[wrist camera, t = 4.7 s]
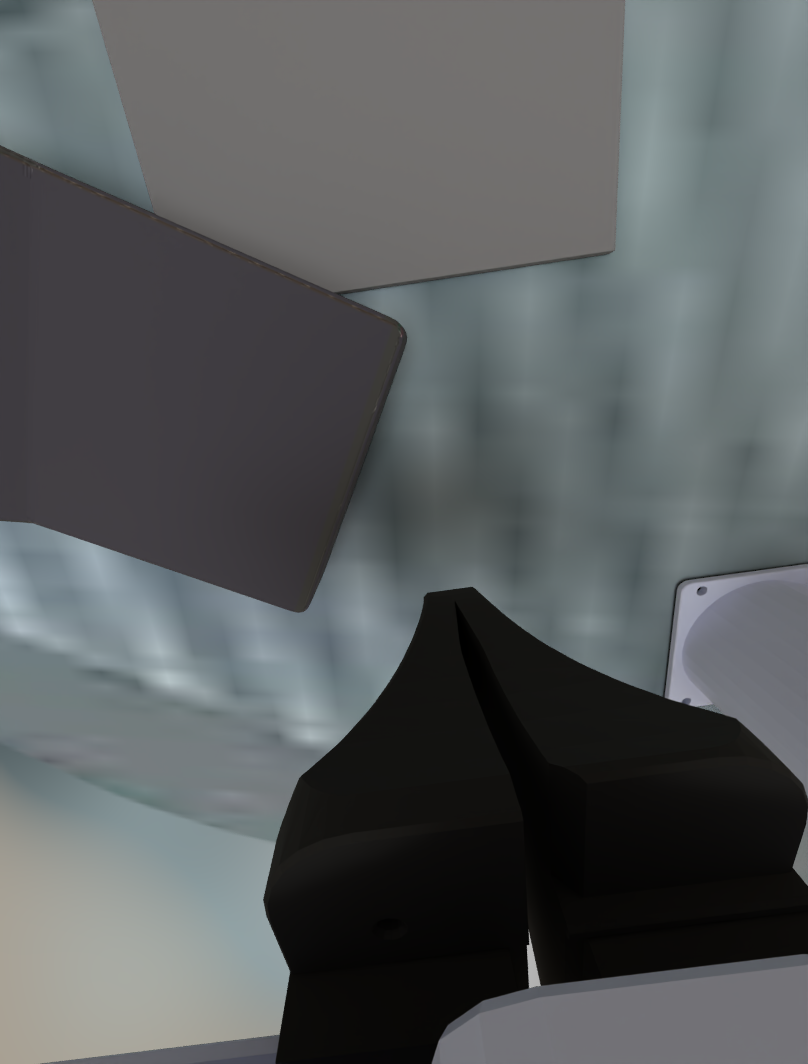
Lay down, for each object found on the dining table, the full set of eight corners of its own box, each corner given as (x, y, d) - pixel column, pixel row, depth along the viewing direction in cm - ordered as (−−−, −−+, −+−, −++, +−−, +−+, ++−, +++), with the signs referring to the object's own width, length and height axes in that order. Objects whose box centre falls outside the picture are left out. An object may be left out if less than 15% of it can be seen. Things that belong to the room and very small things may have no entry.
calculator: (412, 330, 15) (-14, 144, 13) (408, 323, 11) (-195, 58, 9) (325, 571, 19) (-7, 453, 18) (300, 627, 15) (-128, 482, 14)
